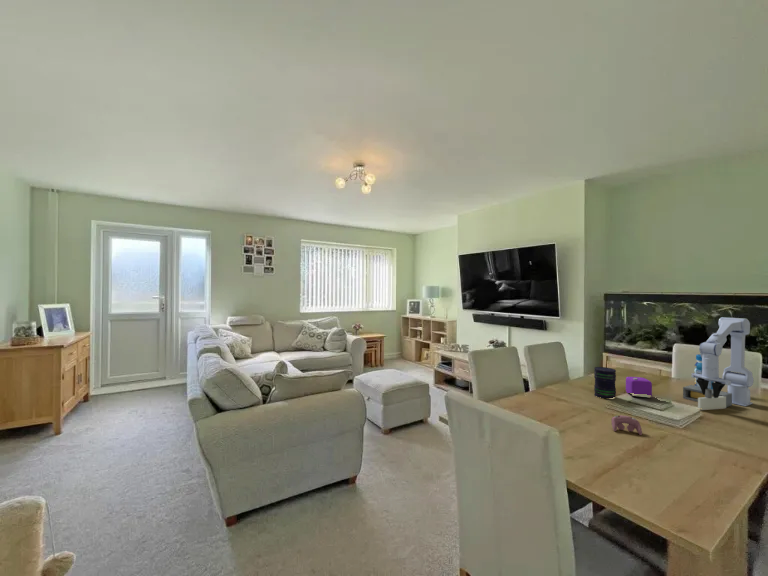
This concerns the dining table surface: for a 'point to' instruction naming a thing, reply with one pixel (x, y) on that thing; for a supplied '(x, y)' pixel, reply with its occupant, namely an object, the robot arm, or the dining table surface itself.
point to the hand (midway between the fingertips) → (710, 396)
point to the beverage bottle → (700, 370)
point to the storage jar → (604, 382)
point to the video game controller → (631, 421)
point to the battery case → (696, 392)
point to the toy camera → (638, 385)
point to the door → (711, 401)
